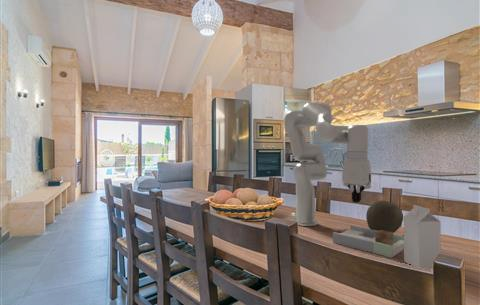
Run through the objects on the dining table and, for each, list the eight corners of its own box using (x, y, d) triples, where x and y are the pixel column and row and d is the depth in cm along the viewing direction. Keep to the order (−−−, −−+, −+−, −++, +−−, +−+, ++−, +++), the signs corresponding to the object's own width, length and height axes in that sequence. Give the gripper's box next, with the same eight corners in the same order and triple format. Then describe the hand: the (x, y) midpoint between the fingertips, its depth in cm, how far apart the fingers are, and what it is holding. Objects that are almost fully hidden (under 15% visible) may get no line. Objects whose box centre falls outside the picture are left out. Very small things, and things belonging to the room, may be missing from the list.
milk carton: (424, 261, 90) (424, 204, 90) (441, 270, 83) (440, 208, 83) (403, 261, 90) (403, 204, 90) (418, 271, 83) (418, 209, 83)
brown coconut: (386, 241, 110) (386, 205, 110) (359, 232, 123) (359, 199, 123) (410, 237, 115) (410, 202, 116) (381, 229, 129) (381, 197, 129)
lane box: (332, 242, 110) (332, 232, 110) (351, 234, 120) (351, 225, 120) (391, 257, 93) (391, 246, 93) (406, 247, 104) (406, 236, 104)
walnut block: (375, 244, 100) (375, 232, 100) (380, 241, 103) (380, 229, 103) (388, 247, 96) (388, 234, 96) (393, 244, 99) (392, 232, 99)
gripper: (334, 155, 110) (334, 200, 111) (372, 157, 99) (371, 206, 100) (343, 155, 115) (343, 197, 116) (380, 156, 104) (379, 203, 105)
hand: (356, 201), depth 108 cm, fingers closed
